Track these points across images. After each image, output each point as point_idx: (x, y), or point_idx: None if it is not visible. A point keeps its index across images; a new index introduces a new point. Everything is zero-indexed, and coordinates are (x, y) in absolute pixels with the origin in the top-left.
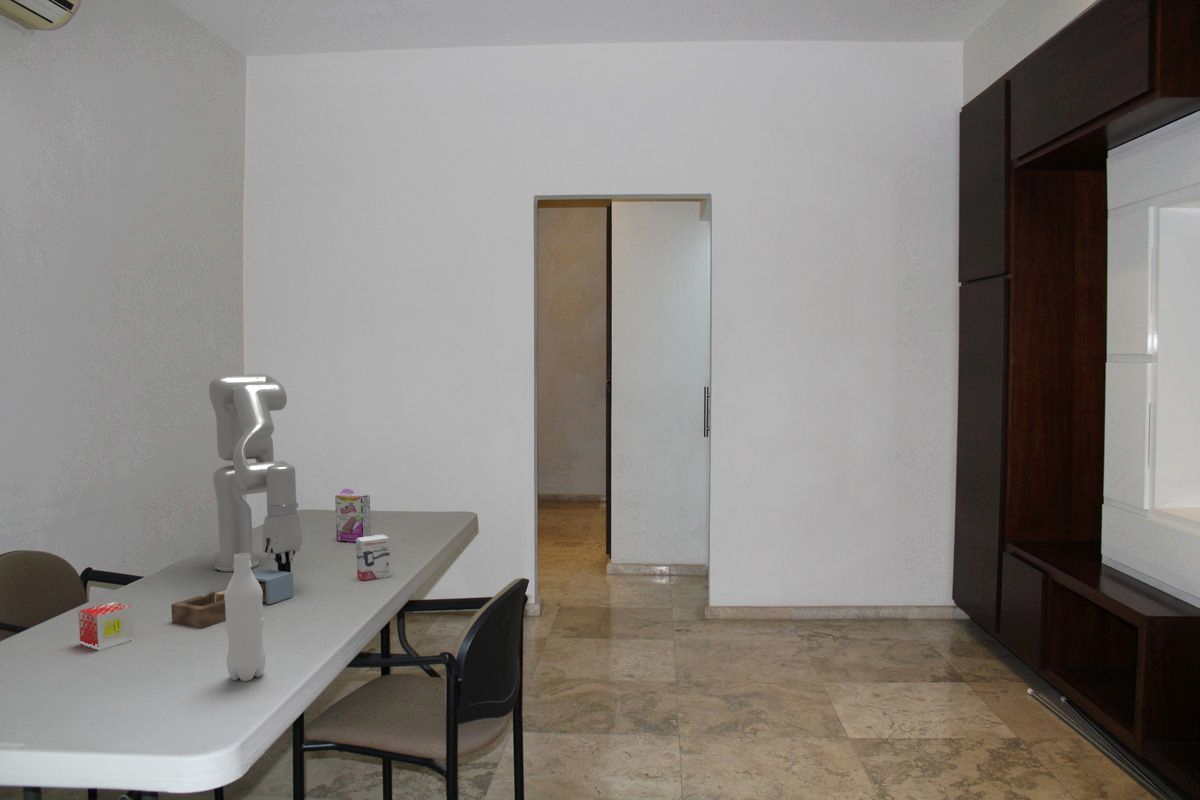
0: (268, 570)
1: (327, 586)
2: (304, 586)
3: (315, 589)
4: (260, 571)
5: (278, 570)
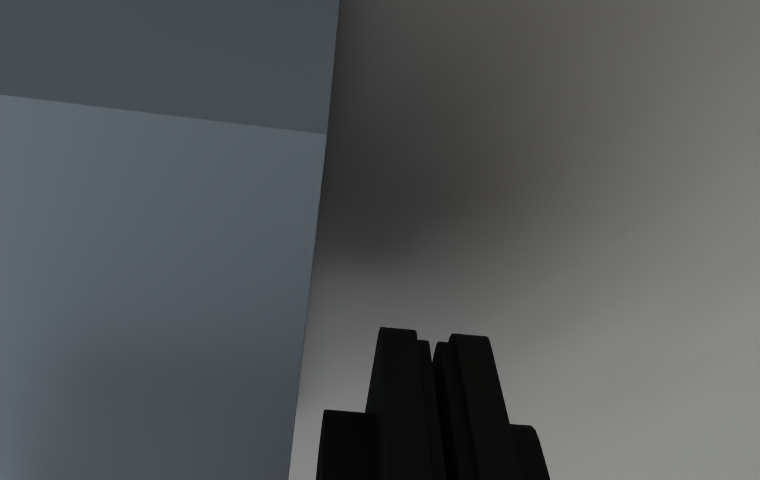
0: (227, 312)
1: (730, 463)
2: (725, 266)
3: (608, 430)
4: (62, 198)
5: (320, 467)
